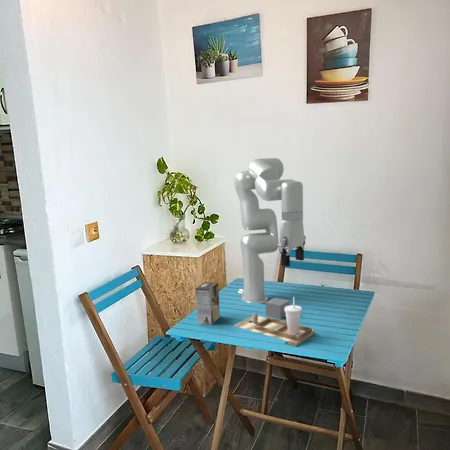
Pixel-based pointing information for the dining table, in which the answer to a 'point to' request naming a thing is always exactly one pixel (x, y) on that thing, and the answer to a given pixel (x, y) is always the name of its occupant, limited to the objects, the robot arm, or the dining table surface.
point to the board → (275, 329)
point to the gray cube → (276, 308)
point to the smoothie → (293, 317)
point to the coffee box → (207, 303)
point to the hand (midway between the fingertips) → (292, 262)
